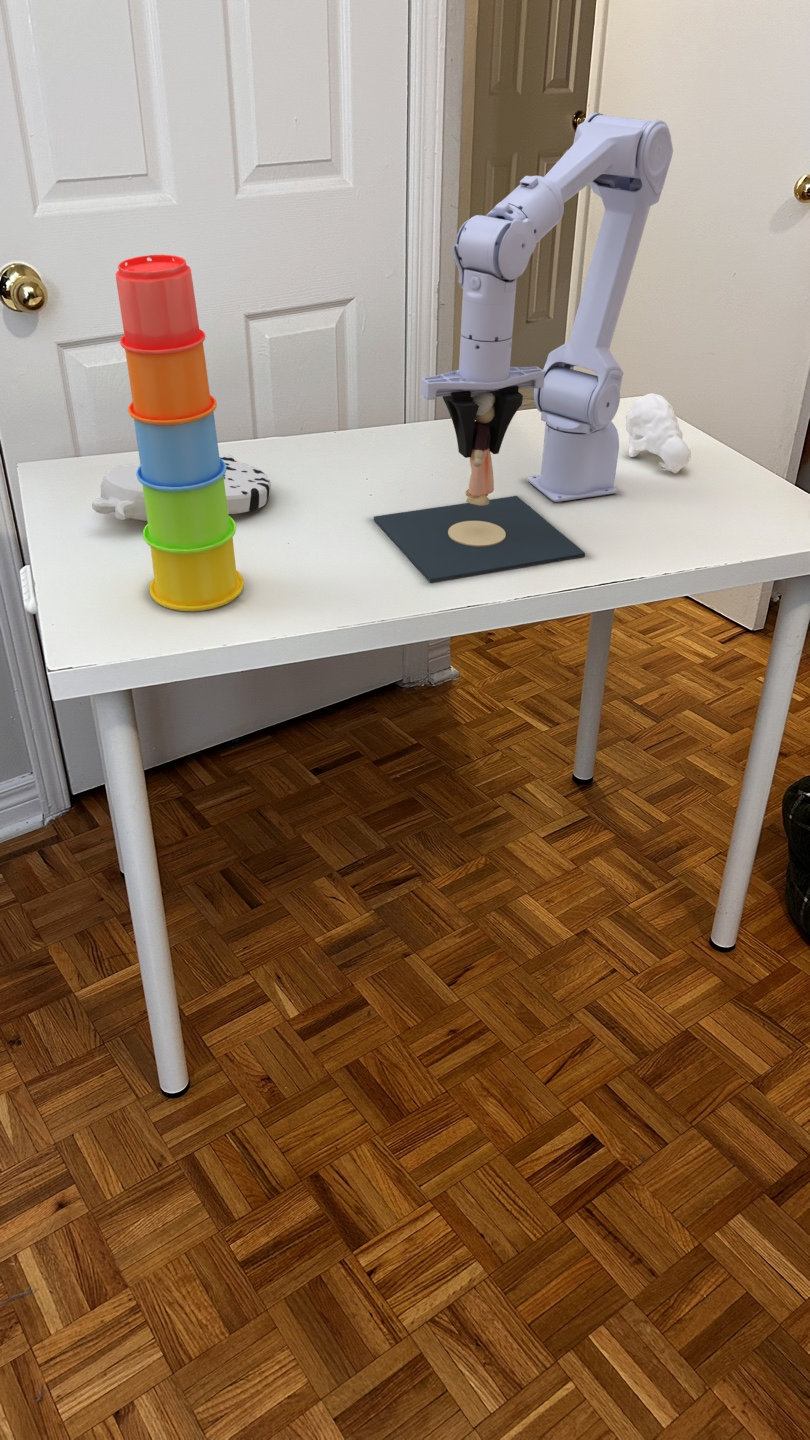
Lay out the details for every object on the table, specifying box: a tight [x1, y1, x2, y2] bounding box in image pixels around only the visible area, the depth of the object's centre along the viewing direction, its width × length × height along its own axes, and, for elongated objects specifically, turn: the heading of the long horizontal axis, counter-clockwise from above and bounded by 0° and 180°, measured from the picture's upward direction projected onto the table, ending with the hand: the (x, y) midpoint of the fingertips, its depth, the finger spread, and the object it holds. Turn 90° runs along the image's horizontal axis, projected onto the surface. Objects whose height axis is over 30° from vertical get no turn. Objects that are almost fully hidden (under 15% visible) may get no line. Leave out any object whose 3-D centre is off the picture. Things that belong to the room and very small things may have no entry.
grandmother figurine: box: [464, 392, 495, 506], centre depth 131 cm, size 8×4×13 cm, turn 9°
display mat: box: [373, 495, 586, 583], centre depth 137 cm, size 20×18×1 cm
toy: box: [91, 454, 272, 522], centre depth 142 cm, size 22×5×20 cm
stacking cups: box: [115, 254, 245, 612], centre depth 114 cm, size 10×10×35 cm
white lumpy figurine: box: [625, 392, 692, 474], centre depth 157 cm, size 6×8×12 cm
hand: (478, 452), depth 132 cm, fingers closed on grandmother figurine, 3 cm apart
